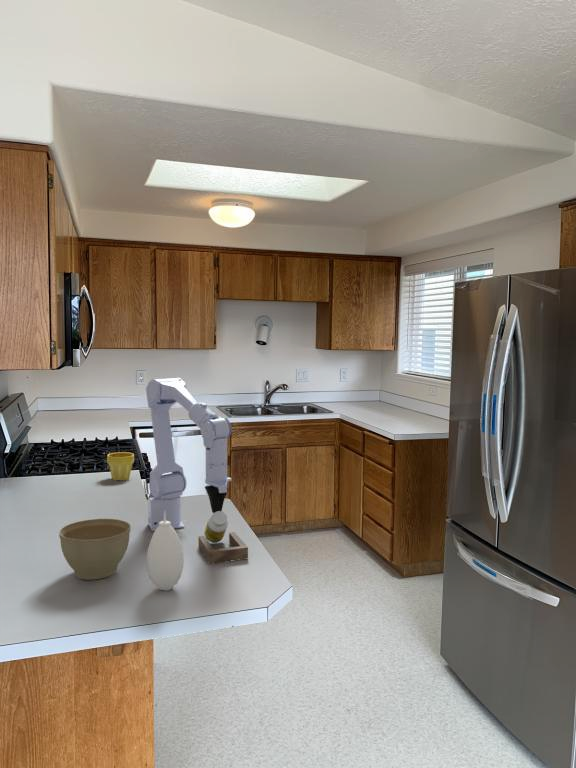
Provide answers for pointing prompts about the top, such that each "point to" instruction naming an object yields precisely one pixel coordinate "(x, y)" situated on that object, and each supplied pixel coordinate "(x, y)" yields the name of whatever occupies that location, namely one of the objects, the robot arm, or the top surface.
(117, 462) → the plant pot
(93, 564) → the planter bowl
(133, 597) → the top surface
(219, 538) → the supplement bottle
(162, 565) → the sauce bottle
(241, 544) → the u rest
